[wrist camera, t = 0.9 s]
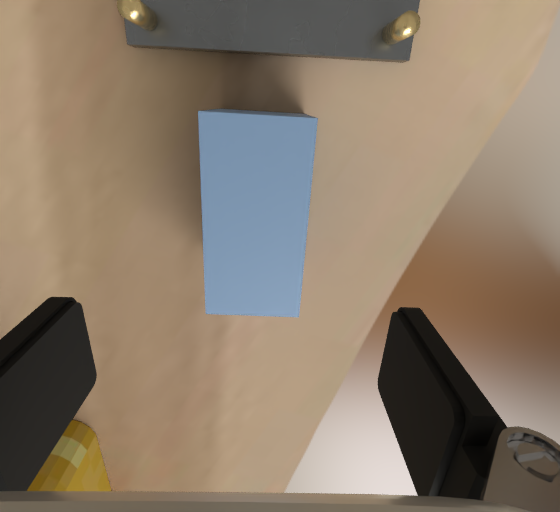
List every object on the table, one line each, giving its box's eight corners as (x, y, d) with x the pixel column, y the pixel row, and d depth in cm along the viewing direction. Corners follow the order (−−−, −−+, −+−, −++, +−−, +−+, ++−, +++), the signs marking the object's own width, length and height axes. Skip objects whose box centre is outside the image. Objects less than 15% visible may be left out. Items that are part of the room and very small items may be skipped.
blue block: (220, 108, 24) (198, 111, 17) (304, 113, 25) (317, 118, 17) (222, 261, 29) (205, 313, 22) (292, 264, 29) (298, 317, 22)
